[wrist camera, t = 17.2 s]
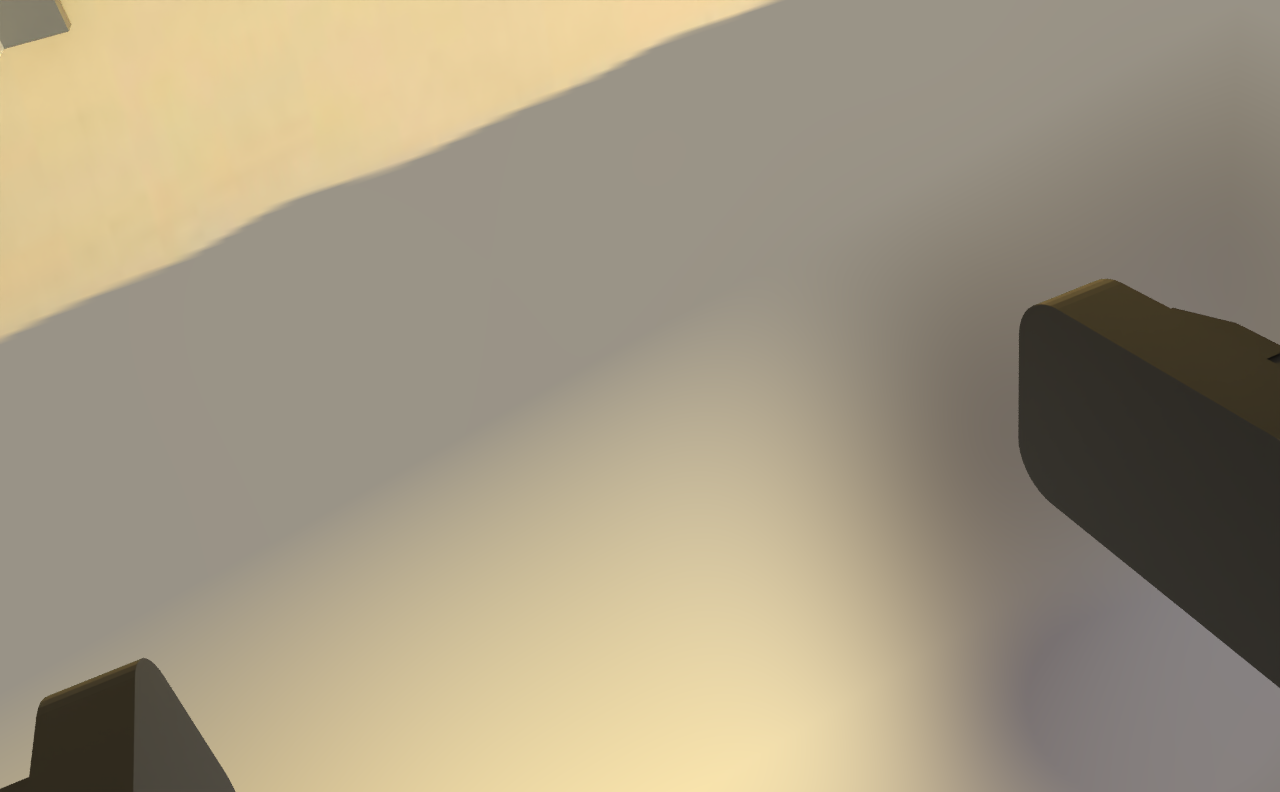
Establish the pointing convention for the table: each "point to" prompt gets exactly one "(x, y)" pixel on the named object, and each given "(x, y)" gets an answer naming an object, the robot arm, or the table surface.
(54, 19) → the rail plate
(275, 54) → the table surface
